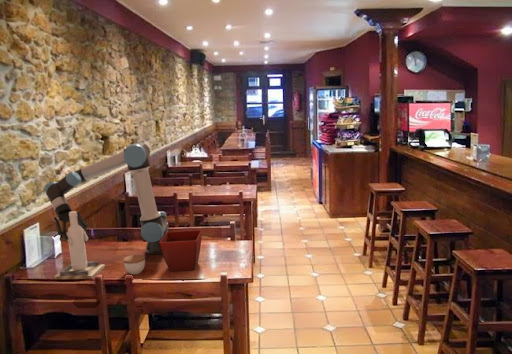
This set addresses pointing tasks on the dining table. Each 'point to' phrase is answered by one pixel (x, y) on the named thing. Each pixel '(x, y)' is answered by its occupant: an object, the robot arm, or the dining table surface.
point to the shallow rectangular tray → (81, 271)
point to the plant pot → (181, 249)
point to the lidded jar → (134, 263)
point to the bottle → (77, 243)
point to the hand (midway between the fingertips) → (79, 241)
